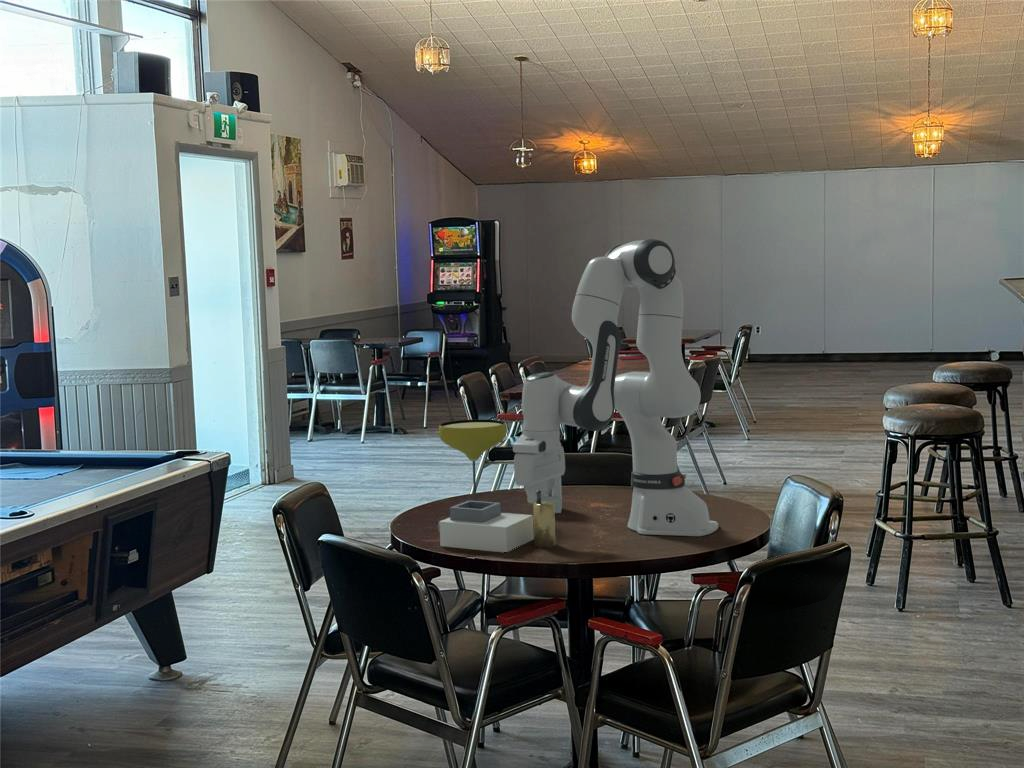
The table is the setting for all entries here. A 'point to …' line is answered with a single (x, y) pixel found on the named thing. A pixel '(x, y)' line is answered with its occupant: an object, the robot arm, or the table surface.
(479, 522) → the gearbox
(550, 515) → the spout can
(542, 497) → the supplement box
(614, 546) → the table surface
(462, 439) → the cocktail glass
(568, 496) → the table surface
